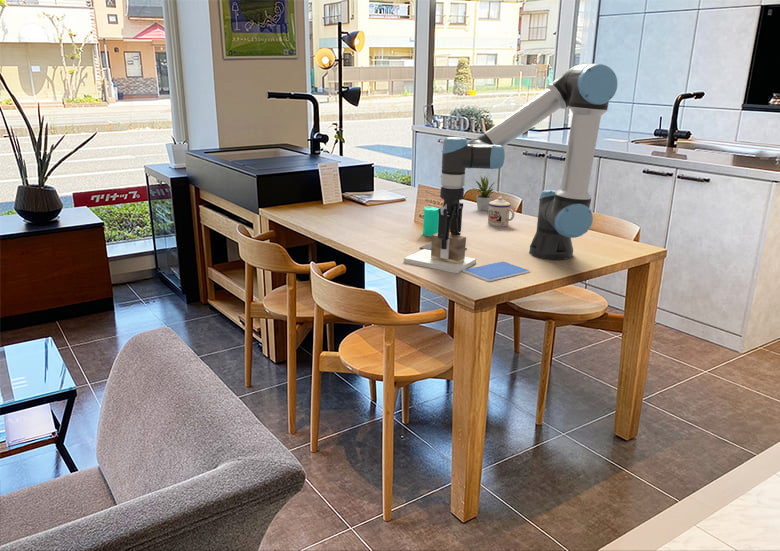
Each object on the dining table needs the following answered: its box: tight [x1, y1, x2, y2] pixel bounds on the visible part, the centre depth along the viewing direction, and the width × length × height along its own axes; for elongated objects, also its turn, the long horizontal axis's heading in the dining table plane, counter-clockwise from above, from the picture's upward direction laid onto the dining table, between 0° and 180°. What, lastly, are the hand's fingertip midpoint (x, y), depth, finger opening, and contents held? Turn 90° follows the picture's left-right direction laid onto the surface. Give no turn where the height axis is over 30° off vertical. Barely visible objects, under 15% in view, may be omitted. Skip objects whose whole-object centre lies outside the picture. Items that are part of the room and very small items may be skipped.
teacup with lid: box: [487, 196, 515, 227], centre depth 266 cm, size 12×9×12 cm
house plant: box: [471, 175, 496, 211], centre depth 295 cm, size 14×14×16 cm
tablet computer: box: [462, 261, 531, 283], centre depth 205 cm, size 19×13×1 cm, turn 127°
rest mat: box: [419, 241, 468, 251], centre depth 229 cm, size 14×10×1 cm
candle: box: [422, 206, 440, 237], centre depth 247 cm, size 6×6×12 cm
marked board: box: [403, 249, 477, 274], centre depth 212 cm, size 20×14×2 cm
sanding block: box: [431, 233, 467, 264], centre depth 209 cm, size 10×5×8 cm, turn 58°
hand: (448, 256), depth 210 cm, fingers closed on sanding block, 5 cm apart
